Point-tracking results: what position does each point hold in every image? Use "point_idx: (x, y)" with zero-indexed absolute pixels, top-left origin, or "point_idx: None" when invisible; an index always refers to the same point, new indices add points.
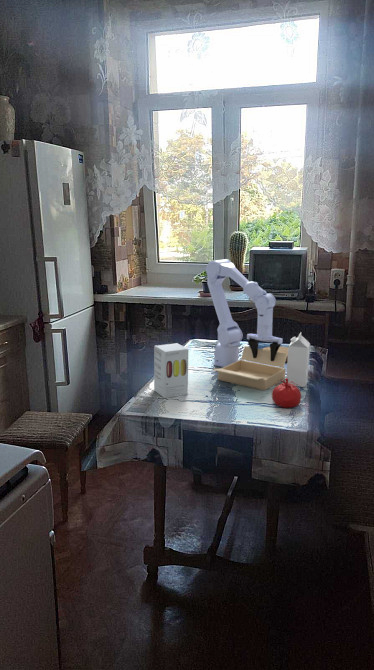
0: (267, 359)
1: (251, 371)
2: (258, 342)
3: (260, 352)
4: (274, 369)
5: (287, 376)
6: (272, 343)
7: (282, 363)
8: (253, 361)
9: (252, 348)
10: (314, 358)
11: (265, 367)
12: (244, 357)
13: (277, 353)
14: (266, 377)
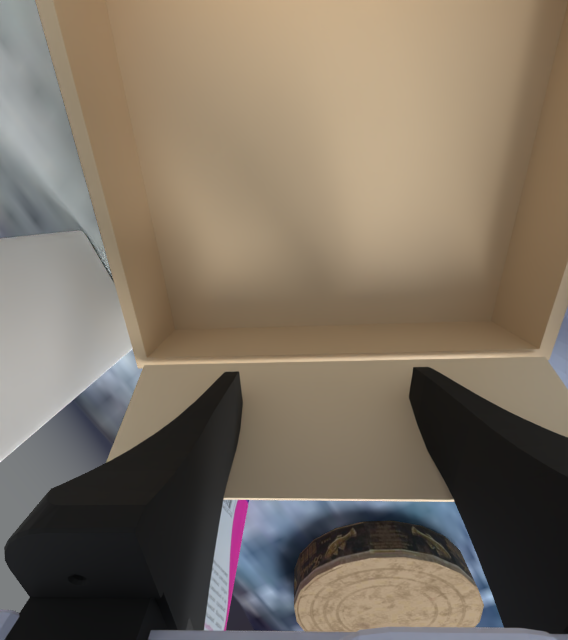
0: (293, 399)
1: (396, 313)
2: (498, 597)
3: (395, 456)
4: (223, 347)
5: (24, 238)
6: (142, 594)
7: (149, 393)
8: (416, 360)
9: (509, 426)
10: (245, 612)
11: (297, 346)
12: (526, 375)
13: None
14: (251, 266)
